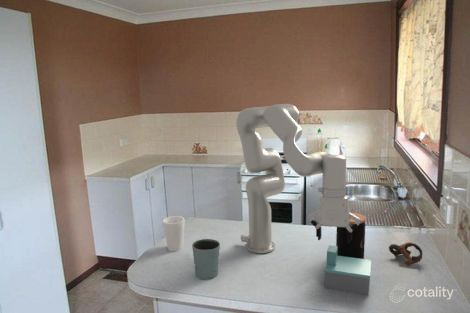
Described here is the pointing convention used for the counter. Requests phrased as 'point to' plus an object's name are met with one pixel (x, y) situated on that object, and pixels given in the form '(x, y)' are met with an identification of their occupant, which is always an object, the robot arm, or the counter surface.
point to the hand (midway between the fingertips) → (333, 240)
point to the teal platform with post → (346, 264)
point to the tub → (347, 283)
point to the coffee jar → (358, 239)
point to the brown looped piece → (406, 252)
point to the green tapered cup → (206, 258)
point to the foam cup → (174, 232)
